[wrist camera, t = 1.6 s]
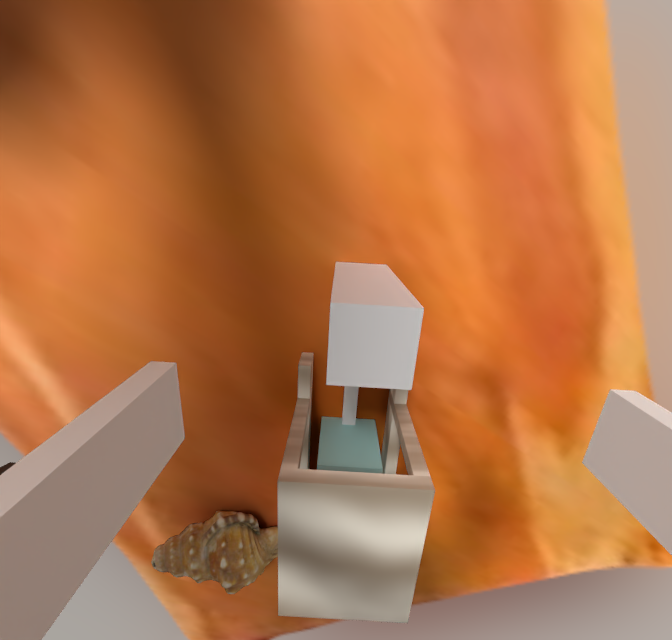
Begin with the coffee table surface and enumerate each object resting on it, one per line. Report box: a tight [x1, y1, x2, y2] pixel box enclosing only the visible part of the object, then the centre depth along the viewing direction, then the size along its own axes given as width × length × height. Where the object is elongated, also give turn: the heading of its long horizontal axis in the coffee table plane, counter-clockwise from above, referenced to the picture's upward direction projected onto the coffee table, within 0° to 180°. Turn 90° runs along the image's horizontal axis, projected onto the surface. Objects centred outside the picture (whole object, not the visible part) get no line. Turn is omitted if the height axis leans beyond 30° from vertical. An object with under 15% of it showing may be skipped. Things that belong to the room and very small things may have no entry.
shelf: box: [278, 352, 435, 623], centre depth 24 cm, size 15×9×11 cm, turn 177°
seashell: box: [152, 510, 278, 594], centre depth 32 cm, size 9×8×10 cm
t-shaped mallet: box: [317, 262, 424, 474], centre depth 22 cm, size 20×5×12 cm, turn 177°
